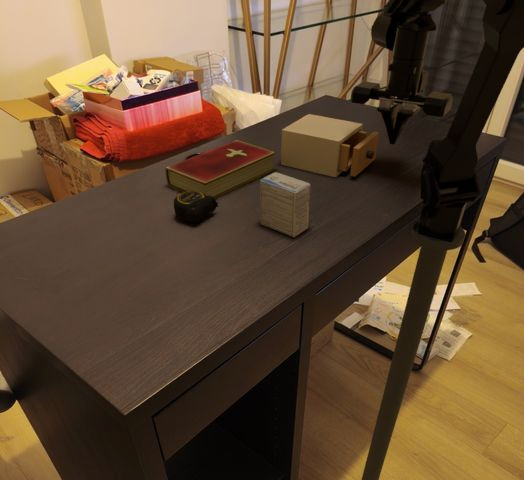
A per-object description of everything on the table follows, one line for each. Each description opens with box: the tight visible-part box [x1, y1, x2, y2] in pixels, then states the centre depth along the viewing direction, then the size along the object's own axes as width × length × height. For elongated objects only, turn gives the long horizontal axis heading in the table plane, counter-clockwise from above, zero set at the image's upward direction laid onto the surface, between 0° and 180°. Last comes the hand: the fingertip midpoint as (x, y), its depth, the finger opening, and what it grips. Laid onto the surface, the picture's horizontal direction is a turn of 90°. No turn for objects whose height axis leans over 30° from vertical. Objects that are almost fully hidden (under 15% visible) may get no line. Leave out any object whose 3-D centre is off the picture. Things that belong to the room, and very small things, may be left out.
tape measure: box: [173, 191, 219, 223], centre depth 89 cm, size 7×7×4 cm
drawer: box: [338, 130, 380, 177], centre depth 105 cm, size 14×11×6 cm
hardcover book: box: [164, 139, 276, 200], centre depth 102 cm, size 12×21×4 cm, turn 139°
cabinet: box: [280, 113, 364, 178], centre depth 107 cm, size 14×13×8 cm
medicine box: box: [259, 171, 311, 238], centre depth 84 cm, size 8×4×9 cm, turn 49°
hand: (392, 143), depth 99 cm, fingers closed
